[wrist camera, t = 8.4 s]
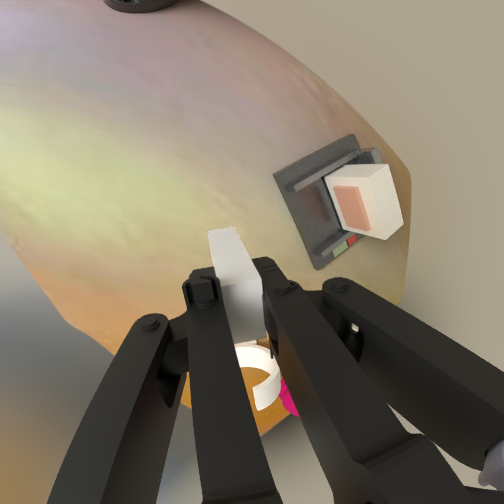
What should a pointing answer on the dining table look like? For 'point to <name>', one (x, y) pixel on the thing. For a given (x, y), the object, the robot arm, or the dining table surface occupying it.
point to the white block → (365, 199)
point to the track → (321, 197)
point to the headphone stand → (261, 359)
